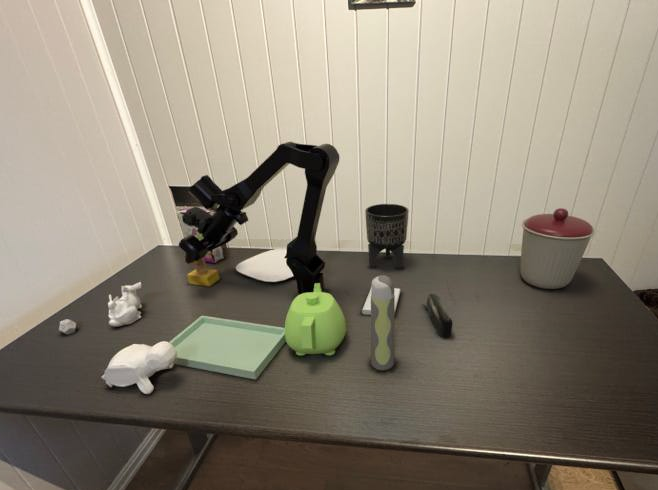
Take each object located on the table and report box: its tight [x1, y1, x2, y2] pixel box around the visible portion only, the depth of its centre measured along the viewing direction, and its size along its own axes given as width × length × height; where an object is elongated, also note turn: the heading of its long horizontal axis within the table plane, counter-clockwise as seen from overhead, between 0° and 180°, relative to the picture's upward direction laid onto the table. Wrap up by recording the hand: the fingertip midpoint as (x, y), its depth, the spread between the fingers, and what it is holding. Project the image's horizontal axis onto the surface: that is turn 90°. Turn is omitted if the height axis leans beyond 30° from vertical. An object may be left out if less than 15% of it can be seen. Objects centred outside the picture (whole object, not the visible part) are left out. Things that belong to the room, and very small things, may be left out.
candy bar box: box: [175, 208, 225, 264], centre depth 123 cm, size 11×5×16 cm, turn 68°
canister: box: [519, 207, 597, 290], centre depth 103 cm, size 18×18×21 cm
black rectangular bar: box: [424, 293, 453, 338], centre depth 90 cm, size 5×3×15 cm
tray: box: [168, 315, 287, 380], centre depth 83 cm, size 24×16×2 cm, turn 74°
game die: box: [58, 318, 77, 336], centre depth 90 cm, size 4×4×3 cm
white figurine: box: [107, 281, 143, 328], centre depth 93 cm, size 12×8×10 cm, turn 168°
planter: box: [364, 203, 410, 270], centre depth 116 cm, size 13×13×18 cm
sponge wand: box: [186, 235, 221, 287], centre depth 109 cm, size 7×5×14 cm
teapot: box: [284, 283, 347, 356], centre depth 81 cm, size 20×13×13 cm
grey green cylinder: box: [370, 274, 395, 371], centre depth 73 cm, size 5×5×20 cm
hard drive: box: [361, 286, 401, 316], centre depth 99 cm, size 2×8×12 cm
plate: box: [235, 248, 294, 283], centre depth 119 cm, size 22×22×2 cm
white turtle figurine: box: [100, 340, 178, 395], centre depth 73 cm, size 9×8×15 cm
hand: (197, 256), depth 108 cm, fingers open, 9 cm apart
